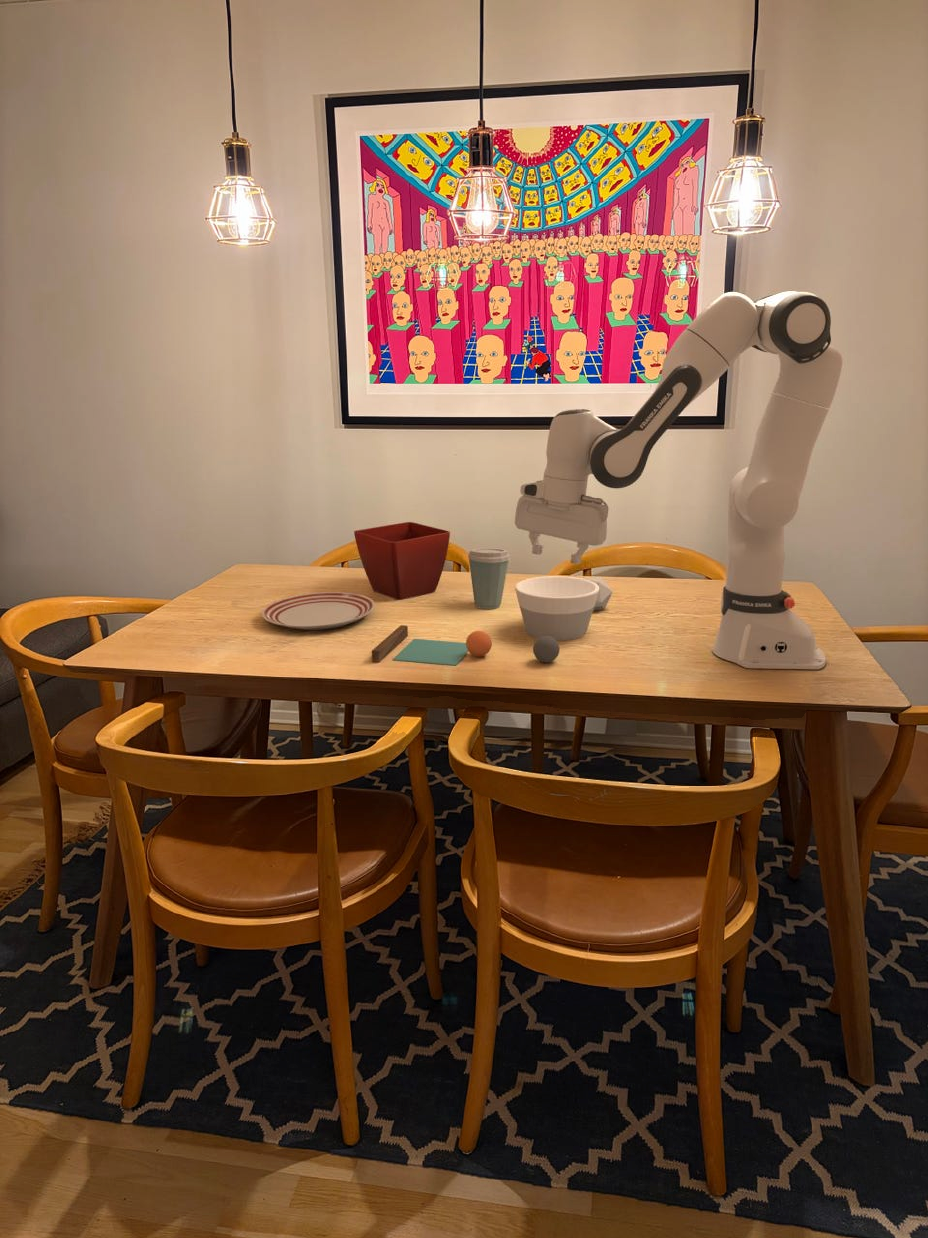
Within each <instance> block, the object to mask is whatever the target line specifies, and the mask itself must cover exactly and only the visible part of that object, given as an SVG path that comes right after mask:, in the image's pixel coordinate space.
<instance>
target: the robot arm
mask: <svg viewBox="0 0 928 1238" xmlns="http://www.w3.org/2000/svg"><path fill="white" fill-rule="evenodd" d="M831 318H832V317H831V312H830V309H829V306H828V305H827V303H826V302H825V301H824V300H823V299H822V298H821V297H819V296H818V295H816V294H814V293H812V292H807V291H783V292H780V293H778V294H773V295H772V294H771V295H767V296H764V297H761V298H760V299H758V300H755V301H753V300H752V299H750V297H748V296H746V295H745V294H742V293H740V292H735V291H730V292H729V291H728V292H725V293H724V294H721V295H720V296H719V297H717V298H716V299H714V301H712V302H711V303H710V304H709V305H708V306H706V308H704V309H703V310H702V311H701V312H700V313H699V314H698V315H696V317H695V318H694V319H693V320H692V321H691V322H690V323H689V324H688V326H687V327H686V328H684V330H683V331H682V332H681V334H680V335H679V336H678V337H677V338H676V340H675V342H673V344H672V346H671V347H670V349H669V351H668V352H667V353H666V355H665V357H664V359H663V363H662V370H661V376H660V379H659V381H658V384H657V386H656V388H655V389H654V390H653V393H651V395H650V396H649V398H648V399H647V400H646V401H645V402H644V404H642V406H641V407H640V408H639V410H638V411H637V412H636V413H635V415H633V417H632V418H631V419H630V420H629V421H628V423H627V424H626V425H624V426H623V427H622V428H620V429H618V428H616V427H614V426H613V425H610V424H609V423H606V422H605V421H604V420H602V419H601V418H599V417H598V416H597V415H595V414H594V412H593V411H592V410H590V409H586V408H585V409H584V408H583V409H567V410H563V411H561V412H558V413H557V414H556V415H555V416H554V417H553V418H552V420H551V423H550V427H549V432H548V437H547V443H546V452H545V453H546V466H545V468H544V471H543V478H542V480H536V481H535V482H529V483H525V484H521V486H520V494H521V496H520V497H519V498H518V501H517V503H516V504H517V505H516V508H515V514H514V524H515V527H516V528H517V529H518V530H522V531H526V532H527V531H528V538H529V541H530V543H531V545H532V549H531V553H532V554H534V555H538V556H539V555H542V554H543V549H544V546H543V544H542V545H541V543H540V541H539V537H540V536H541V535H544V536H548V537H552V538H558V539H562V540H566V541H567V540H568V541H571V542H576V545H577V546H576V547H577V549H578V550H577V551H576V553H572V554H570V563H571V564H575V565H580V564H581V563H582V560H583V559H582V558H583V555H584V554H585V553H586V551H587V550H588V549H589V546H593V547H595V546H601V545H602V544H604V543H605V542H606V541H607V535H608V534H607V533H608V531H607V530H608V516H609V506H608V504H607V503H606V502H605V501H604V499H603V498H601V497H593V496H590V495H587V488H588V479H589V475H593V476H594V479H595V480H596V481H597V482H598V483H600V485H602V486H604V487H606V488H609V489H623V488H626V487H629V486H631V485H633V484H635V482H637V480H639V479H640V477H641V475H642V474H643V472H644V470H645V467H646V465H647V462H648V458H649V456H650V453H651V451H652V450H653V448H654V447H655V445H656V443H657V442H658V441H659V440H660V439H661V437H662V436H663V435H664V434H665V432H666V431H667V430H668V429H669V428H670V427H671V426H672V424H673V423H674V422H675V421H676V419H677V418H678V417H679V416H680V414H681V413H683V411H684V410H686V408H687V407H688V406H689V405H690V404H692V402H694V401H695V400H696V399H697V398H698V397H700V395H702V393H705V391H706V390H708V389H709V388H710V387H711V386H712V385H714V384H715V382H717V381H718V379H720V377H722V375H724V374H725V372H727V370H728V369H729V368H730V367H731V366H732V365H733V363H734V362H735V361H736V360H737V359H738V358H739V356H740V355H741V354H743V353H744V352H745V351H746V350H747V349H749V348H751V347H752V348H754V349H755V350H756V351H757V350H758V351H761V352H764V353H770V354H774V355H778V358H779V363H780V365H779V367H780V368H779V374H778V378H777V381H776V382H775V384H774V388H773V390H772V393H771V394H770V397H769V399H768V403H767V405H766V408H765V410H764V412H763V415H762V418H761V421H760V422H759V426H758V428H757V430H756V433H755V441H754V445H753V449H752V453H751V457H750V461H749V464H748V466H747V467H745V468H743V469H741V470H739V472H737V473H736V474H735V476H734V477H733V478H732V480H731V482H730V484H729V489H728V517H727V519H728V521H727V522H728V524H727V525H728V529H727V530H728V533H727V534H728V535H727V536H728V537H727V538H728V541H727V543H728V544H727V545H728V552H727V553H728V554H727V565H726V567H727V568H726V576H725V577H726V578H725V586H724V587H723V588H722V593H721V603H720V610H721V611H720V612H721V619H720V624H719V628H718V631H717V635H716V639H715V640H714V643H713V646H712V649H711V651H712V653H713V654H714V655H715V656H716V657H719V658H721V659H724V660H725V661H729V662H733V663H735V664H737V665H739V666H741V667H744V668H746V669H766V670H767V669H773V670H775V669H776V670H777V669H778V670H779V669H780V670H820V669H822V668H824V667H825V666H826V662H827V661H826V660H827V659H826V654H825V652H824V650H822V649H821V648H820V647H818V646H817V644H816V636H815V633H814V631H813V630H814V629H812V627H811V626H810V625H809V623H807V622H806V621H805V620H804V619H802V618H801V616H799V615H798V614H797V613H795V612H794V611H792V609H793V608H794V607H795V605H796V601H795V599H794V598H793V597H792V595H791V594H789V592H788V591H787V590H786V591H785V590H783V589H782V586H783V577H784V571H785V570H784V569H785V568H784V567H785V560H786V550H785V533H784V531H785V530H784V527H785V526H786V525H787V524H789V523H790V522H791V521H792V520H793V519H794V517H795V515H796V514H797V512H798V508H799V501H800V496H801V495H802V494H801V493H802V490H803V486H804V484H805V480H806V476H807V473H808V469H809V464H810V460H811V456H812V454H813V450H814V447H815V445H816V441H817V439H818V437H819V434H820V433H821V431H822V430H821V429H822V428H823V425H824V422H825V420H826V417H827V416H828V412H829V409H830V408H831V405H832V403H833V400H834V397H835V395H836V393H837V388H838V385H839V381H840V376H841V373H842V368H843V356H842V354H841V353H840V351H839V350H838V349H837V348H836V347H835V346H833V345H832V344H831V342H832V337H831V324H832V319H831Z"/></svg>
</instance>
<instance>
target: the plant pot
mask: <svg viewBox="0 0 928 1238" xmlns="http://www.w3.org/2000/svg"><path fill="white" fill-rule="evenodd" d="M353 533H354V534H353V535H354V539H355V540H354V541H355V544H356V548H357V551H358V555H359V557H360V560H361V565H362V566H363V569H364V572H365V575H366V577H367V580H368V582H369V584H370V586H371V588H372V590H373V591H374V592H376V593H379V594H381V595H383V596H387V597H388V598H389V597H390V598H391V599H394V600H404V599H409V598H413V597H417V596H422V595H426V594H430V593H434V592H436V590H437V587H438V585H439V582H440V579H441V577H442V573H443V571H444V567H445V562H446V559H447V555H448V548H449V543H450V536H451V531H450V530H446V529H442V528H437V527H432V526H429V525H425V524H422V523H418V522H413V521H412V522H411V521H405V522H401V523H400V522H399V523H394V524H388V525H382V526H377V527H375V526H374V527H369V528H365V529H364V528H363V529H357V530H354V532H353Z"/></svg>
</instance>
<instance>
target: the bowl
mask: <svg viewBox="0 0 928 1238" xmlns="http://www.w3.org/2000/svg"><path fill="white" fill-rule="evenodd" d="M514 589H515V590H514V591H515V594H516V598H517V602H518V605H519V609H520V613H521V619H522V622H523V624H524V625H523V626H524V629H525V630H524V631H525V632H526V634H527V635H529V636H530V637H533V638H536V639H538V638H540V637H542V636H550V637H553V638H554V639H555V640H556V641H571V640H576V639H580V638H582V637H584V636H585V635H586V634H587V631H588V628H589V625H590V622H591V619H592V616H593V612H594V610H593V609H594V606H595V603H596V599H597V596H598V592H599V586H598V585H597V584H596V583H594V582H591V581H589V580H585V579H584V578H579V577H574V576H563V575H551V576H550V575H549V576H535V577H531V578H526V579H523V580H520V581H518V582H517V583H516V584H515V586H514Z"/></svg>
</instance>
